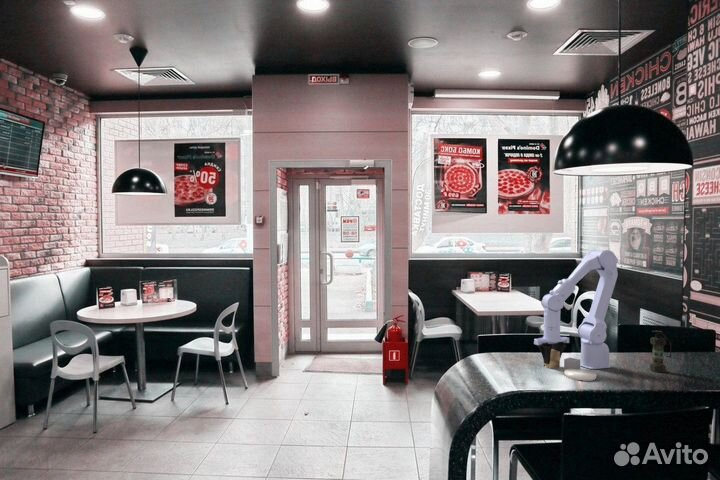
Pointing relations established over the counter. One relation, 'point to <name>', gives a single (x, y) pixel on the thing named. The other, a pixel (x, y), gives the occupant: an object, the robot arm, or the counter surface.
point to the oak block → (554, 359)
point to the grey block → (571, 363)
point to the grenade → (658, 351)
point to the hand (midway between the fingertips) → (551, 362)
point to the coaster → (580, 374)
